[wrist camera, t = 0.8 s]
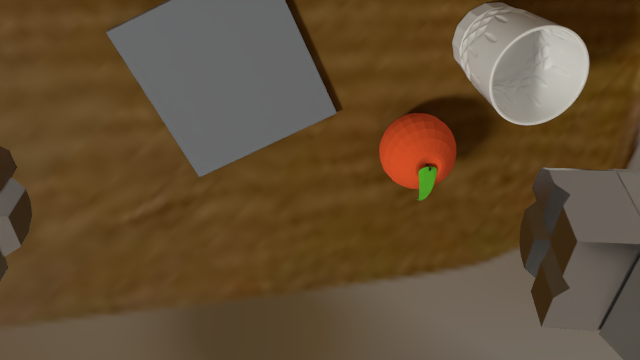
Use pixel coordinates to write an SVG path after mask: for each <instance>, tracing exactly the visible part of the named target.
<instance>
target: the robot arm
mask: <svg viewBox="0 0 640 360" xmlns="http://www.w3.org/2000/svg"><path fill="white" fill-rule="evenodd" d="M16 168H17V166H16V164H15V162H14V160H13V158H12V156H11V153H10V151H9V150H7V149H5V148H3V147H1V146H0V281H1V279H2V278H3V276H4V274H5V273H6V271H7V269H8V265H7V261H6V258H5V256H7V255H8V254H10V253H11V252H13V251H14V250H16V249H17V248H19V247H21V245H22V244H23V242H24V240H25V238H26V236H27V235H28V233H29V228H30V223H31V218H32V210H31V202H30V199H29V196H28V193H27V191H26V189H25V188H24V187H23V186H21V185H20V184H19V183H18V182H16V181H15V180H14V179H13V178H12V176H13V174H14V172H15V170H16ZM532 189H533V192H534V195H535V198H536V202H535V203H533V204H532V205H531V206H529V207H528V208H527V209H526V210H525V212H524V216H523V219H522V223H521V228H520V242H519V243H520V252H521V257H522V261H523V265H524V268H525V269H526V270H527V271H528V272H529V273H530V274H531V275H533V276H534V277H535V281H534V284H533V287H532V290H531V293H532V297H533V300H534V304H535V307H536V310H537V314H538V317H539V321H540V324H541V327H548V328H563V329H575V330H589V331H600V333H599V334H600V335H601V336H602V338H603V339H604V340H605V341H606V342H607V343H608V344H609V345H610V346H611V347H612V348H613V349H614V350H615V351H616V352H617V353H618V354H619V355H620V357H621V358H622V359H623V360H640V170H635V169H610V170H592V169H563V168H541V170H540V171H539V173H538V174H537V176H536V179H535V181H534V184H533V187H532Z"/></svg>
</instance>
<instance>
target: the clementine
mask: <svg viewBox="0 0 640 360" xmlns="http://www.w3.org/2000/svg"><path fill="white" fill-rule="evenodd" d="M379 153H380V160H381V164H382V166H383V168H384V171H385V172H386V173H387V174H388V175H389V176H390V177H391V179H392V180H393V181H395V182H396V183H398V184H399V185H401V186H404V187H408V188H411V189H419V191H420V193H419V199H417V200H423V199H425V198H426V197H427V196H428V195H429V193H430V191H431V190H432V188H433V186H434V185H436V184H438V183H439V182H440V181H442V180H443V179H444V178H445V177H446V176H447V175H448V174H449V173H450V171H451V169H452V168H453V166H454V163H455V159H456V142H455V139H454V136H453V134H452V132H451V130H450V129H449V128H448V126H447V125H446V124H445V123H444V122H442V121H441V120H439V119H438V118H437V117H435V116H432V115H429V114H425V113H412V114H406V115H404V116H402V117H400V118H398V119H396V120H395V121H394V122H392V123H391V124H390V125H389V127H388V128H387V129H386V130H385V133H384V135H383V137H382V139H381V142H380V148H379Z"/></svg>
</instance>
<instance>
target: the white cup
mask: <svg viewBox="0 0 640 360" xmlns="http://www.w3.org/2000/svg"><path fill="white" fill-rule="evenodd" d="M452 46H453V54H454V59H455V60H456V62H457V63H458V64H459V66H460V67H461V68H462V70H463V71H464V72H465V74H466V76H467V77H468V79H469V80H470V81H471V82H472V84H473V85H474V86H475V87H476V88H477V90H478V91H479V92H480V93H481V94H482V95H483V96H484V97H485V99H486V100H487V101H488V102H489V103H490V104H491V105H492V106H493V108H494V109H495V110H496V111H497V112H498V113H499V114H500V115H501V116H502V117H503V118H504V119H506V120H508V121H510V122H512V123H515V124H519V125H535V124H540V123H543V122H546V121H549V120H551V119H553V118H555V117H557V116H558V115H560V114H561V113H563V112H564V111H565V110H566V109H567V108H568V107H570V106H571V104H572V103H573V102H574V101H575V100H576V99H577V97H578V96H579V94H580V93H581V91H582V89H583V87H584V85H585V83H586V80H587V76H588V72H589V54H588V50H587V48H586V45H585V43H584V42H583V40H582V39H581V38H580V37H579V36H578V35H577V34H576V33H575V32H574V31H572V30H570V29H568V28H566V27H563V26H561V25H559V24H556V23H554V22H552V21H549V20H547V19H545V18H542V17H540V16H538V15H535V14H533V13H530V12H528V11H525V10H522V9H518V8H514V7H511V6H509V5H507V4H505V3H502V2H496V3H484V4H482V5H480V6H478V7H477V8H475V9H473V10H471V11H469V12H468V13H467V15H466V16H465V17H464V18H463V19H462V21H461V22H460V23H459V24H458V25H457V28H456V31H455V35H454V38H453V41H452Z"/></svg>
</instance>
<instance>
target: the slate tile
mask: <svg viewBox="0 0 640 360" xmlns="http://www.w3.org/2000/svg"><path fill="white" fill-rule="evenodd" d="M106 33H107V35H108V36H109V38H110V39H111V41H112V42H113V44H114V45H115V47H116V49H117V50H118V52H119V53H120V55H121V56H122V58H123V59H124V61H125V63H126V64H127V66H128V67H129V69H130V70H131V72H132V73H133V75H134V76H135V78H136V80H137V81H138V83H139V84H140V86H141V87H142V89H143V90H144V92H145V94H146V95H147V97H148V98H149V100H150V101H151V103H152V104H153V106H154V107H155V109H156V111H157V112H158V114H159V115H160V117H161V118H162V120H163V121H164V123H165V124H166V126H167V128H168V129H169V131H170V132H171V134H172V135H173V137H174V138H175V140H176V142H177V143H178V145H179V146H180V148H181V149H182V151H183V152H184V154H185V155H186V157H187V159H188V160H189V162H190V163H191V165H192V166H193V168H194V169H195V171H196V173H197V174H198V176H199V177H201V176H203V175H205V174H207V173H209V172H212V171H214V170H216V169H218V168H220V167H222V166H224V165H227V164H229V163H231V162H233V161H235V160H237V159H239V158H242V157H244V156H246V155H248V154H250V153H252V152H254V151H257V150H259V149H261V148H263V147H265V146H267V145H269V144H272V143H274V142H276V141H278V140H280V139H282V138H284V137H287V136H289V135H291V134H293V133H295V132H297V131H299V130H302V129H304V128H306V127H308V126H310V125H312V124H315V123H317V122H319V121H321V120H323V119H325V118H327V117H330V116H332V115H334V114H336V113H337V112H336V110H335V108H334V106H333V103H332V101H331V99H330V97H329V95H328V93H327V90H326V88H325V86H324V84H323V82H322V79H321V77H320V75H319V73H318V71H317V69H316V66H315V64H314V62H313V60H312V58H311V56H310V53H309V51H308V49H307V47H306V45H305V43H304V40H303V38H302V36H301V34H300V32H299V29H298V27H297V25H296V23H295V21H294V19H293V16H292V14H291V12H290V10H289V8H288V6H287V3H286V1H285V0H168V1H166V2H164V3H162V4H160V5H158V6H156V7H154V8H152V9H150V10H148V11H146V12H144V13H142V14H140V15H138V16H136V17H134V18H132V19H130V20H127V21H125V22H123V23H121V24H119V25H117V26H115V27H113V28H111V29H109V30H107V32H106Z"/></svg>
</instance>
